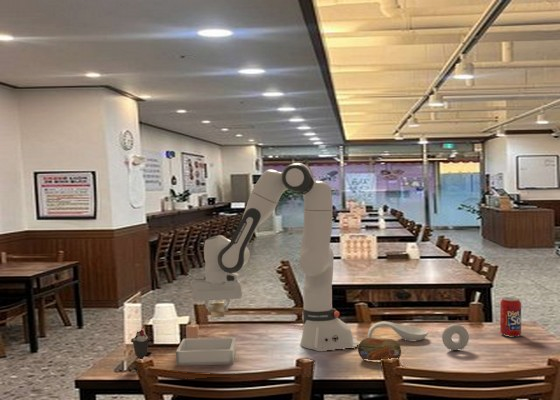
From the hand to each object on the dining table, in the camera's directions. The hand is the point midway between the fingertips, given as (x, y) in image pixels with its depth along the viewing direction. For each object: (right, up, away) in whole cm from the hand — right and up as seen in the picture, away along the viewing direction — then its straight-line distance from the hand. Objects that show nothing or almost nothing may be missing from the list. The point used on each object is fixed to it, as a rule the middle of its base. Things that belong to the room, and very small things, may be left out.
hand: (218, 310), depth 230 cm
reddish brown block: (-10, -13, +1) cm, 17 cm away
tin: (+60, -13, -27) cm, 67 cm away
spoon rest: (+72, -12, 0) cm, 73 cm away
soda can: (+118, -11, +2) cm, 118 cm away
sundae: (-24, -15, -27) cm, 39 cm away
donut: (+90, -12, -17) cm, 92 cm away
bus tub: (-2, -14, -18) cm, 23 cm away
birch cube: (0, -2, 0) cm, 2 cm away
